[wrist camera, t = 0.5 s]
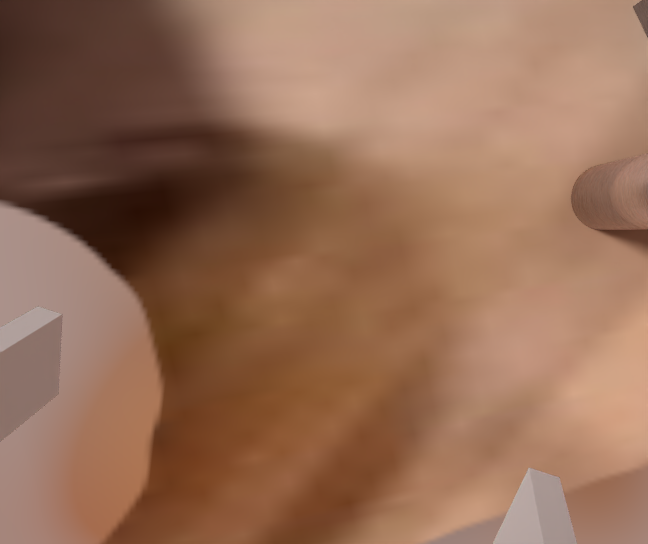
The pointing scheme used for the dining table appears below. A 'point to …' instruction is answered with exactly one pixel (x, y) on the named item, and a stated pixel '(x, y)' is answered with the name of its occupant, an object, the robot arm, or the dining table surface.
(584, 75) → the dining table surface
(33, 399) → the robot arm
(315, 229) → the dining table surface
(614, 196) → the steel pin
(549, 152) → the dining table surface
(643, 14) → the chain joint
